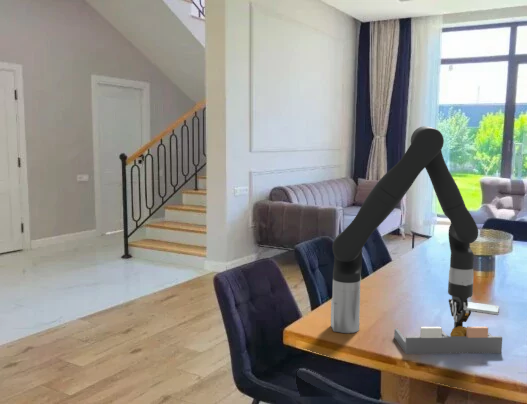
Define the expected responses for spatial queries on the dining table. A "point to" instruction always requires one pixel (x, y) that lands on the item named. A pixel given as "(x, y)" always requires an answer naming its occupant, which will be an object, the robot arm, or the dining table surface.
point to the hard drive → (483, 308)
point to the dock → (450, 342)
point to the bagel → (459, 331)
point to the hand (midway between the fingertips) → (458, 331)
